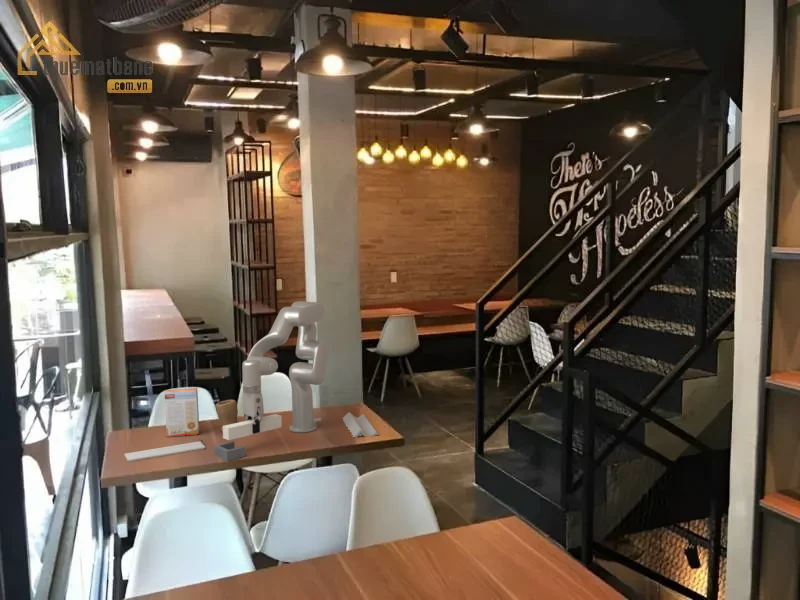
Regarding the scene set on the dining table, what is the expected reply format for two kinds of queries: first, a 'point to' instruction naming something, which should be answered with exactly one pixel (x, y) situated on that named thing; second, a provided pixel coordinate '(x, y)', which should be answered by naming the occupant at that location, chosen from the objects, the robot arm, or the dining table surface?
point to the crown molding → (359, 425)
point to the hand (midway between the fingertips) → (252, 431)
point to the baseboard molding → (163, 451)
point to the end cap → (229, 451)
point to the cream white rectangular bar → (247, 429)
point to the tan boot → (227, 412)
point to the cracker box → (181, 412)
